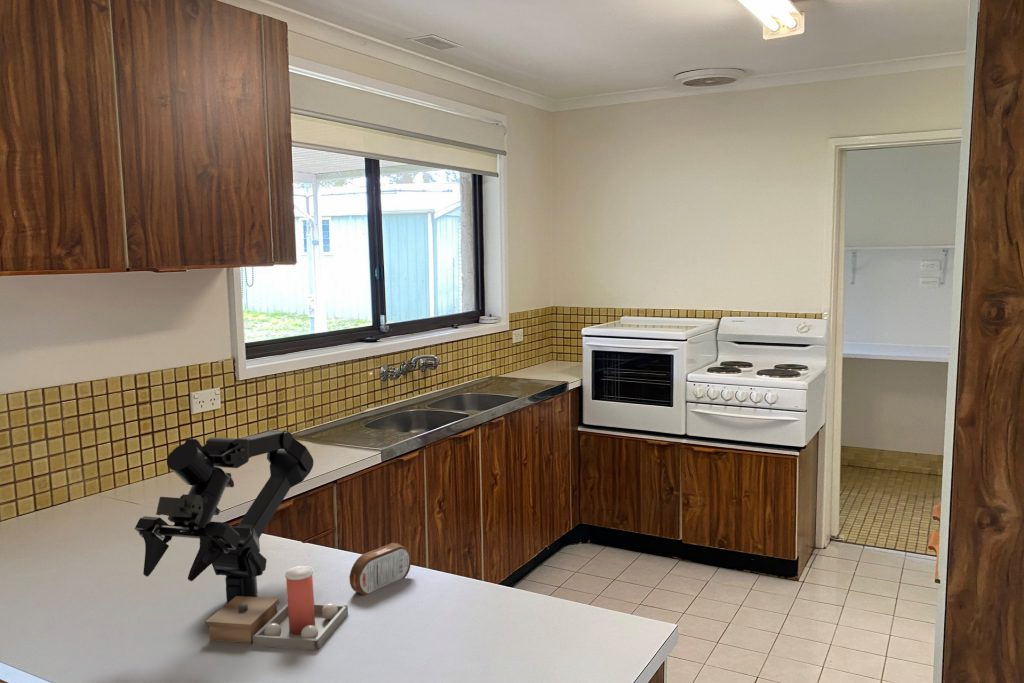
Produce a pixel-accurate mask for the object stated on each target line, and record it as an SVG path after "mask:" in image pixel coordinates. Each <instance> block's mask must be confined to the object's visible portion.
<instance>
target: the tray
mask: <svg viewBox="0 0 1024 683" xmlns="http://www.w3.org/2000/svg"><path fill="white" fill-rule="evenodd" d="M326 604H327V603H315V602H314V613H315V627H316V628H317V630H318V636H317V637H316V638H315V639H311V638H301V635H294V634H291V633H290V631H289V615H288V602H287V603H286V604H285V605H284V606H283V607H282V608H281V609H280V610H279V611H277V614H276V615H275V616H274V617H273V618H272V619H271V620H270V621H269V622H267V623H266V624H265V625H264V626H263V627H262V628H261V629H260V630H259V631H258V632H257V633H256V634H255V635H254V636H253V642H252V643H253V644H252V645H253V647H264V648H278V649H291V650H292V649H293V650H294V649H295V650H309V651H310V650H311V651H318V650H319V649H320V648H321V647H322V646H323V644H324V643H325V642H326V641H327V639H328V638H330V636H331V635H332V634H333V633H334V631H335V630H336V629H337V628H338V627H339V625H340V624H341V623H342V622H343V621H344V619H345V618H346V617H347V616H348V615H349V610H348V608H349V607H348V604H335V605H336V606H337V608H338V613H337V614H336V615H335V617H334V618H333V619H332V620H327V619H325V618H324V617H323V615H322V609H323V607H324V606H325V605H326ZM270 623H277V624H279V625H280V627H281V630H282V632H281V635H280V636H265V635H264V630H265V628H266V626H267V625H268V624H270Z"/></svg>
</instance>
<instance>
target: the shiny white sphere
mask: <svg viewBox="0 0 1024 683" xmlns="http://www.w3.org/2000/svg"><path fill="white" fill-rule="evenodd" d="M281 632H282V630H281V627H280V625H279V624H277V623H270V624H268V625H267V626H266V628H265V630H264V635H265V636H280V635H281Z"/></svg>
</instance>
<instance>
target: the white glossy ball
mask: <svg viewBox="0 0 1024 683" xmlns="http://www.w3.org/2000/svg"><path fill="white" fill-rule="evenodd" d="M317 636H318V630H317V628H316V627H315V626H313V625H308V626H305V627H304V628H303V629H302V631H301V638H311V639H315V638H316V637H317Z"/></svg>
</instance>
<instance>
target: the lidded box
mask: <svg viewBox="0 0 1024 683" xmlns="http://www.w3.org/2000/svg"><path fill="white" fill-rule="evenodd" d="M279 603H280V598H279V597H264V596H263V597H262V596H257V597H246V596H236V597H235V598H233V599H232V600H231V601H230V602H228V603H227V602H226V604H225V605H223V606H222V607H221V608H220V609H219V610H218V611H216V612H215V613H214V614H212V616H210V617H209V618H207V619H206V620H205V621H204V624H205V627H208V633H209V641H218V642H234V643H247V644H248V643H249V644H252V643H253V636H254V635H255V634H256V633H257V632H258V631H259V630H260V629H261V628H262V627H263V626H264V625H265V624H266V623H267V622H269V621H270V620H271V619H272V618H273V617H274V616H275V615H276V614H277V613H278V608H277V607H278V604H279Z"/></svg>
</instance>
